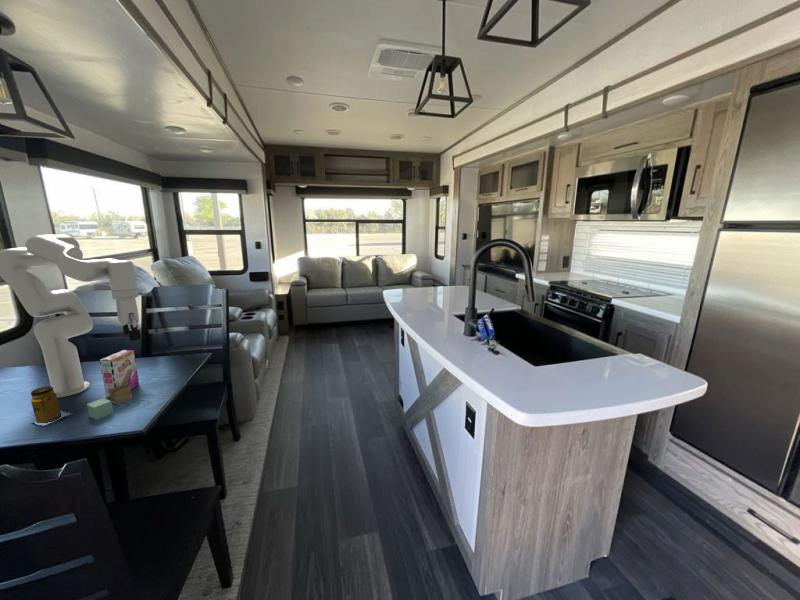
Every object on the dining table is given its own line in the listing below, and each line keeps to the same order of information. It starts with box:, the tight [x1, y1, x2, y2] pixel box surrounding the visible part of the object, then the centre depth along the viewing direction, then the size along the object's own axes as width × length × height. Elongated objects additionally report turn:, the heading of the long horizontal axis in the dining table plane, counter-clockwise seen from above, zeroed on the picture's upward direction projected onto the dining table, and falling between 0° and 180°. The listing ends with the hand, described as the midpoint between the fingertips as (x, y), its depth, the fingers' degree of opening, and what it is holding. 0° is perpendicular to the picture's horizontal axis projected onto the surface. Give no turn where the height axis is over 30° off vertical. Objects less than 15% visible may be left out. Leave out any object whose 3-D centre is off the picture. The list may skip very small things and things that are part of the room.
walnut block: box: [109, 384, 133, 405], centre depth 129 cm, size 5×5×5 cm
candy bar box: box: [99, 349, 140, 398], centre depth 134 cm, size 11×5×16 cm, turn 178°
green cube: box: [86, 397, 114, 421], centre depth 118 cm, size 5×5×5 cm
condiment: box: [30, 385, 74, 423], centre depth 114 cm, size 7×8×12 cm
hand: (132, 336), depth 124 cm, fingers open, 9 cm apart
